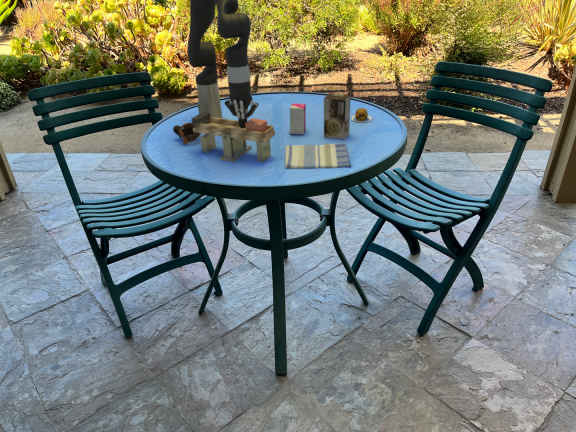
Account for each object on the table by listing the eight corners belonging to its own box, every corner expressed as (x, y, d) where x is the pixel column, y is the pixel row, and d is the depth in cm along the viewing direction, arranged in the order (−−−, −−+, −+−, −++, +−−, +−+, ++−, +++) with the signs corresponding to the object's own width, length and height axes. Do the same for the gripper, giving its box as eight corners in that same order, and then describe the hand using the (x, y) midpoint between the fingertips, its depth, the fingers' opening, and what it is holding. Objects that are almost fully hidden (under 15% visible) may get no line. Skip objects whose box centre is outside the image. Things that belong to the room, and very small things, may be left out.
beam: (193, 131, 156) (191, 118, 153) (205, 124, 162) (203, 111, 159) (265, 143, 145) (264, 128, 142) (275, 134, 151) (274, 120, 148)
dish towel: (285, 149, 161) (285, 143, 159) (347, 148, 159) (347, 141, 158) (283, 170, 146) (283, 163, 145) (351, 169, 145) (351, 162, 143)
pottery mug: (205, 136, 175) (204, 123, 168) (197, 153, 171) (195, 141, 164) (177, 128, 176) (175, 115, 168) (169, 145, 171) (166, 133, 164)
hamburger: (381, 121, 182) (382, 109, 179) (359, 127, 177) (359, 115, 174) (363, 114, 191) (364, 102, 188) (342, 119, 186) (342, 107, 183)
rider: (246, 133, 149) (245, 123, 146) (252, 128, 152) (252, 118, 150) (261, 136, 146) (260, 125, 144) (267, 131, 150) (266, 120, 148)
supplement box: (304, 135, 171) (303, 108, 164) (289, 135, 172) (288, 107, 165) (306, 130, 175) (305, 103, 169) (292, 129, 176) (291, 103, 170)
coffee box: (349, 134, 170) (351, 94, 161) (344, 140, 165) (346, 99, 156) (328, 131, 173) (329, 92, 165) (323, 137, 168) (323, 97, 160)
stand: (197, 155, 158) (192, 130, 153) (215, 142, 168) (212, 118, 162) (259, 166, 148) (256, 140, 143) (274, 151, 158) (273, 126, 153)
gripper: (216, 80, 140) (222, 129, 150) (250, 83, 136) (254, 134, 145) (227, 74, 146) (233, 122, 156) (261, 77, 141) (264, 126, 151)
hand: (243, 127), depth 150 cm, fingers closed
